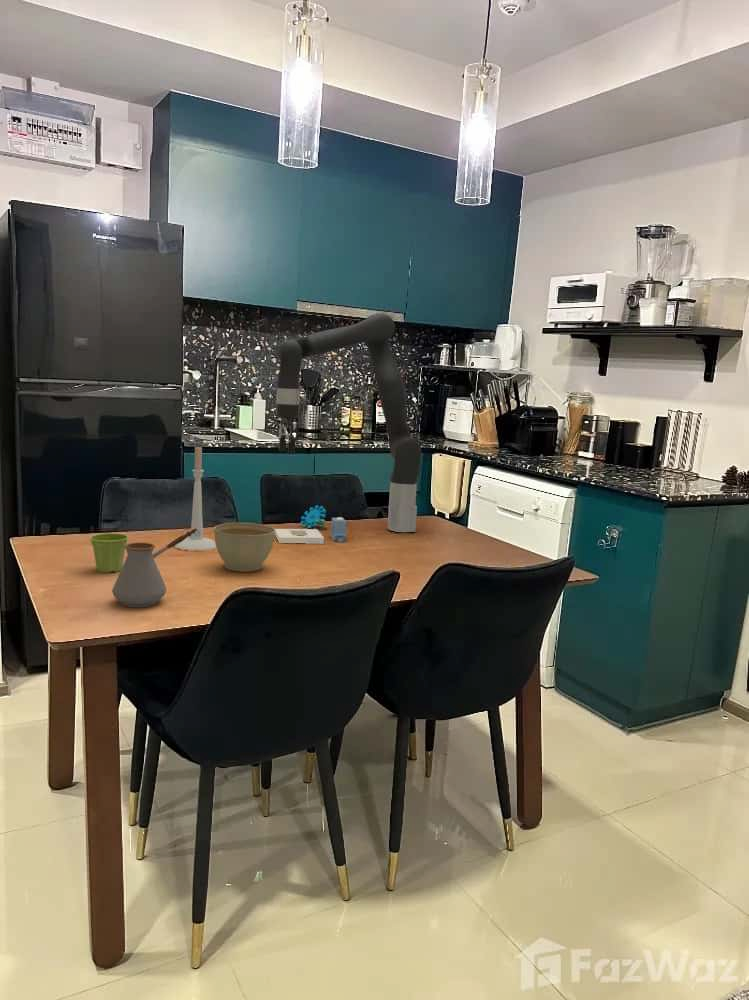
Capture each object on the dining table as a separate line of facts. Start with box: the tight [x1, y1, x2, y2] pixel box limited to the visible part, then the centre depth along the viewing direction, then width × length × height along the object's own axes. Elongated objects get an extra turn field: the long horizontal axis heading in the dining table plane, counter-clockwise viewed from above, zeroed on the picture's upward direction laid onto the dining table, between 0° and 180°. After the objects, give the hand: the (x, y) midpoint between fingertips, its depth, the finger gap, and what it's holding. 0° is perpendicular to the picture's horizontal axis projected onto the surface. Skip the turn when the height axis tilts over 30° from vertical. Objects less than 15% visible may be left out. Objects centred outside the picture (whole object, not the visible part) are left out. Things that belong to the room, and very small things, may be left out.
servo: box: [329, 516, 347, 543], centre depth 239 cm, size 4×9×7 cm, turn 14°
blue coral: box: [300, 504, 327, 529], centre depth 256 cm, size 11×6×10 cm
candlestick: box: [175, 445, 216, 550], centre depth 216 cm, size 13×13×30 cm
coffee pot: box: [111, 528, 200, 608], centre depth 166 cm, size 21×12×15 cm, turn 140°
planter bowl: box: [213, 522, 276, 573], centre depth 196 cm, size 16×16×11 cm
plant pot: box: [89, 532, 129, 573], centre depth 187 cm, size 9×9×9 cm
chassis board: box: [274, 528, 325, 545], centre depth 236 cm, size 14×13×2 cm
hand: (286, 452), depth 242 cm, fingers open, 8 cm apart
